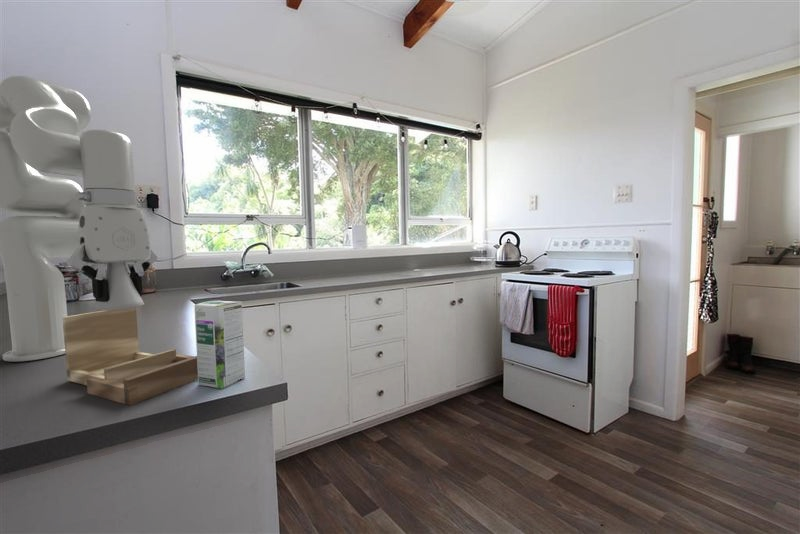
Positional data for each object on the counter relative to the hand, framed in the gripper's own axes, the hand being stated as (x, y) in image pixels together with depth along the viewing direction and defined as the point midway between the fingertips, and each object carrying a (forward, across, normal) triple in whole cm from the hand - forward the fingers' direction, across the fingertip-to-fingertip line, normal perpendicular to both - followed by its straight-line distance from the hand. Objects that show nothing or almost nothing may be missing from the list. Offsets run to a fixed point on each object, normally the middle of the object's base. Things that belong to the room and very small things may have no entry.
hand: (119, 297), depth 69 cm
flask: (+2, 0, 0) cm, 2 cm away
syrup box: (+15, +5, -20) cm, 26 cm away
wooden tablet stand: (+15, 0, 0) cm, 15 cm away
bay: (+15, 0, -9) cm, 18 cm away
